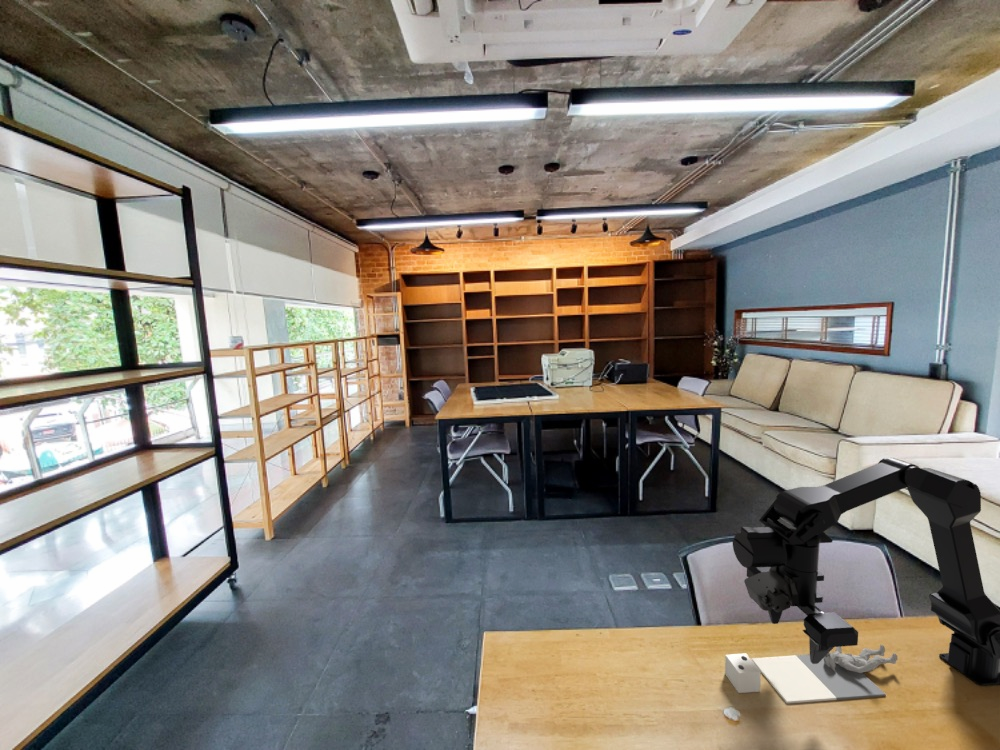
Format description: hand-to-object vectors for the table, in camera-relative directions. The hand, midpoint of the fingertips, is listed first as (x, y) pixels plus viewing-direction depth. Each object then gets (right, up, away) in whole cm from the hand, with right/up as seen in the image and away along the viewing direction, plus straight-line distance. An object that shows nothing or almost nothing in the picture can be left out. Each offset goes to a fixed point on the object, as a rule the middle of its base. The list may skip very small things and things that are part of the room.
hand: (793, 641), depth 72 cm
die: (-9, -8, +1) cm, 12 cm away
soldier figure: (+20, -6, +2) cm, 21 cm away
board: (+5, -7, +1) cm, 9 cm away
